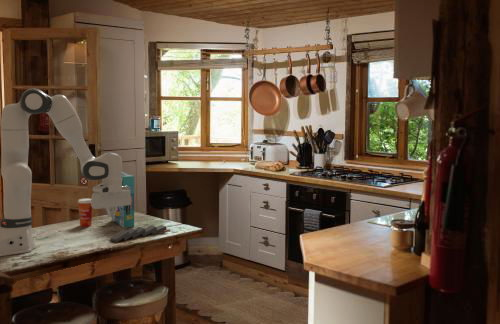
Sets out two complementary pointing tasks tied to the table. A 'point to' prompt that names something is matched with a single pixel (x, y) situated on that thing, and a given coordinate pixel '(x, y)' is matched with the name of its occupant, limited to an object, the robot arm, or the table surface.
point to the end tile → (164, 231)
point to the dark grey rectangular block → (119, 236)
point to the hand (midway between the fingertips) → (111, 216)
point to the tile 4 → (149, 230)
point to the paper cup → (85, 212)
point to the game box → (126, 213)
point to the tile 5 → (159, 229)
